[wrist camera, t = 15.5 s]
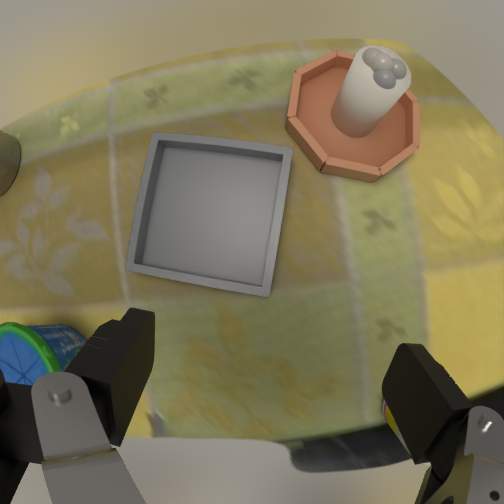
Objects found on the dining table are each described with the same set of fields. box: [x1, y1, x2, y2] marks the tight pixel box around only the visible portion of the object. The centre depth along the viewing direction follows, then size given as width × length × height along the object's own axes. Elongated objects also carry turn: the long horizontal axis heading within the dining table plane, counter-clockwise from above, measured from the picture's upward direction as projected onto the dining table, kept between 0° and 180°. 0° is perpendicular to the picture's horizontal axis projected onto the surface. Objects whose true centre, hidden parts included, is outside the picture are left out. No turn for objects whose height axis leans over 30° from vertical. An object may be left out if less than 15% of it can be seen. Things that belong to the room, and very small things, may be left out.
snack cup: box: [0, 322, 86, 385], centre depth 28 cm, size 16×10×10 cm
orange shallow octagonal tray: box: [286, 50, 420, 183], centre depth 30 cm, size 14×14×3 cm
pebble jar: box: [331, 45, 411, 138], centre depth 25 cm, size 5×5×11 cm
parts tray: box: [125, 132, 293, 297], centre depth 31 cm, size 14×14×3 cm
